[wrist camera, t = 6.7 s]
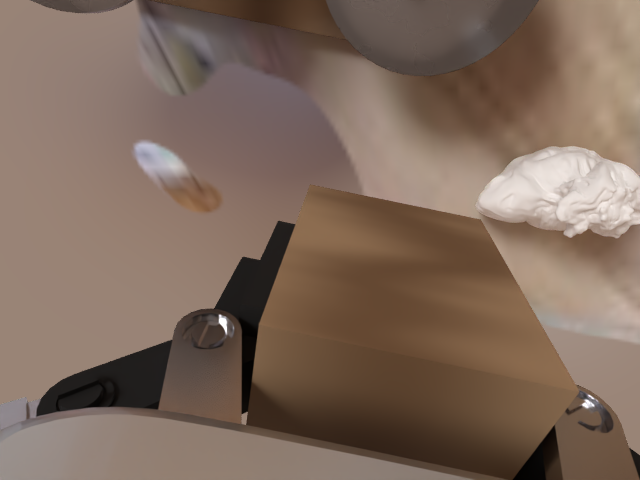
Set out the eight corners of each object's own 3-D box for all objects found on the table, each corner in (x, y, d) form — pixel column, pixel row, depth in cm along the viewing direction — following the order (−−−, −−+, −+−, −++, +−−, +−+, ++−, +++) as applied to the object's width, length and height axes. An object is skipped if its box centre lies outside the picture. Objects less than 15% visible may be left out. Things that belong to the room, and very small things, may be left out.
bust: (606, 166, 33) (730, 97, 22) (614, 255, 32) (750, 229, 21) (461, 167, 34) (508, 102, 23) (463, 252, 33) (514, 226, 22)
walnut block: (480, 219, 11) (579, 391, 6) (427, 344, 14) (463, 543, 8) (310, 184, 11) (258, 324, 6) (287, 315, 14) (237, 495, 8)
